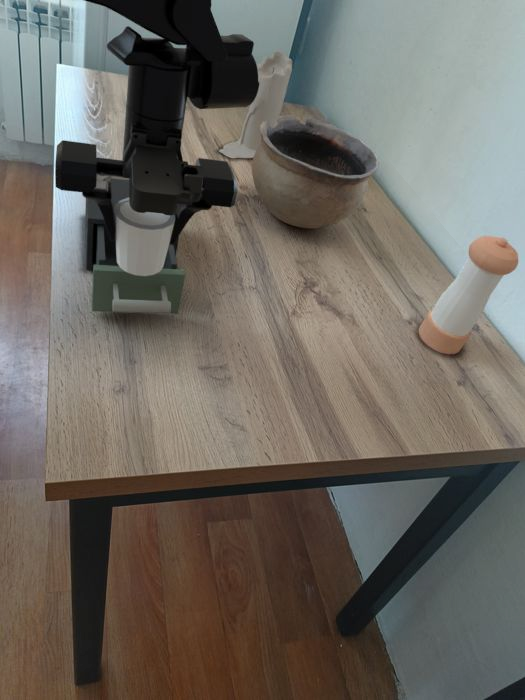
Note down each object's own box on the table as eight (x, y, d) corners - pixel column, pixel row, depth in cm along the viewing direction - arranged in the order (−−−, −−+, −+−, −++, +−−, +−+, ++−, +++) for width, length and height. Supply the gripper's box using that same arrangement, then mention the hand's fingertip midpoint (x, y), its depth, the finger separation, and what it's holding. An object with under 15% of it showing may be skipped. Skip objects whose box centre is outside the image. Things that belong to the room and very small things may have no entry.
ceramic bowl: (295, 179, 116) (316, 109, 106) (371, 232, 107) (403, 162, 97) (218, 197, 102) (235, 119, 92) (299, 260, 93) (327, 181, 83)
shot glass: (174, 278, 65) (182, 228, 60) (116, 280, 62) (120, 228, 57) (161, 245, 69) (167, 196, 64) (106, 245, 66) (109, 194, 62)
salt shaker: (463, 359, 85) (533, 260, 72) (419, 346, 84) (482, 244, 71) (458, 330, 90) (523, 234, 77) (417, 318, 90) (475, 218, 77)
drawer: (182, 338, 71) (190, 298, 67) (92, 336, 68) (94, 295, 63) (168, 260, 83) (174, 222, 78) (90, 255, 79) (91, 214, 74)
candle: (212, 147, 117) (230, 48, 104) (254, 138, 126) (276, 46, 113) (235, 162, 114) (257, 63, 101) (276, 152, 124) (301, 60, 110)
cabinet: (173, 274, 82) (181, 226, 76) (86, 269, 78) (87, 218, 72) (163, 224, 91) (170, 178, 85) (85, 218, 87) (86, 168, 81)
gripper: (51, 130, 45) (54, 279, 55) (263, 159, 51) (230, 288, 61) (56, 80, 52) (58, 219, 63) (240, 110, 58) (214, 232, 69)
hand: (142, 240), depth 64 cm, fingers closed on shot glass, 6 cm apart
